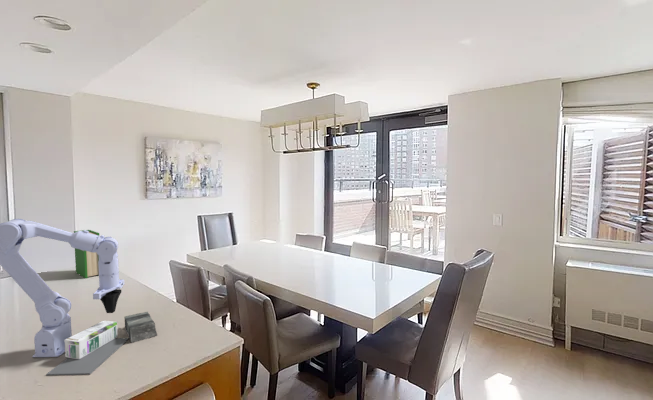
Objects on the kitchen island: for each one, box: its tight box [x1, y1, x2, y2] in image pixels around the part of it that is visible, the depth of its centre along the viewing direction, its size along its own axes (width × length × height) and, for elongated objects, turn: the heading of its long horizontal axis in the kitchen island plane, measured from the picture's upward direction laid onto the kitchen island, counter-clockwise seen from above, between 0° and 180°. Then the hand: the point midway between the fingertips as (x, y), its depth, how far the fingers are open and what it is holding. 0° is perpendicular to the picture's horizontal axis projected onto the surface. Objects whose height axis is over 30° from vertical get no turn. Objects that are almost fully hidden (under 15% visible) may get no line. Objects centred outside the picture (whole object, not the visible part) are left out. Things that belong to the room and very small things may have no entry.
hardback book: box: [73, 229, 100, 279], centre depth 190 cm, size 18×7×24 cm, turn 50°
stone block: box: [124, 311, 158, 344], centre depth 121 cm, size 9×14×5 cm, turn 38°
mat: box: [45, 337, 130, 376], centre depth 105 cm, size 20×12×1 cm, turn 3°
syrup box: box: [64, 320, 119, 359], centre depth 109 cm, size 6×6×14 cm
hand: (110, 312), depth 115 cm, fingers closed
